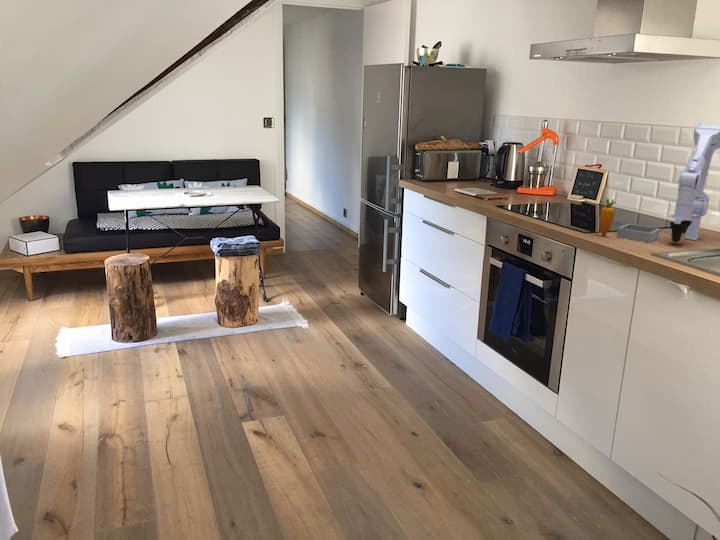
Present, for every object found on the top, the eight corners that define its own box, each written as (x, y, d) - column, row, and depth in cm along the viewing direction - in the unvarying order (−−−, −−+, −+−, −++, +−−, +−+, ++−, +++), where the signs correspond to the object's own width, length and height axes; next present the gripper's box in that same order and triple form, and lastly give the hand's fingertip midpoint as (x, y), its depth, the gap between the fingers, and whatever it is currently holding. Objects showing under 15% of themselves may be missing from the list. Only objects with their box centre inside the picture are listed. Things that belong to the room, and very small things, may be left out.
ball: (671, 241, 230) (673, 228, 229) (685, 244, 227) (688, 231, 226) (667, 243, 226) (670, 230, 225) (682, 246, 223) (685, 233, 222)
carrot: (607, 235, 236) (613, 197, 232) (612, 237, 231) (619, 199, 227) (594, 234, 236) (601, 196, 232) (600, 237, 231) (606, 198, 227)
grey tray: (627, 231, 244) (628, 223, 243) (658, 237, 237) (660, 228, 236) (616, 236, 233) (618, 228, 232) (649, 242, 226) (651, 233, 225)
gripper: (677, 201, 230) (670, 235, 234) (668, 205, 220) (661, 241, 223) (697, 203, 226) (690, 238, 230) (689, 207, 215) (681, 244, 219)
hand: (677, 240), depth 226 cm, fingers open, 6 cm apart
